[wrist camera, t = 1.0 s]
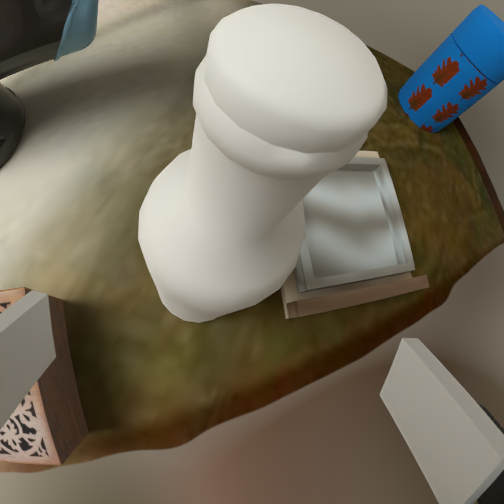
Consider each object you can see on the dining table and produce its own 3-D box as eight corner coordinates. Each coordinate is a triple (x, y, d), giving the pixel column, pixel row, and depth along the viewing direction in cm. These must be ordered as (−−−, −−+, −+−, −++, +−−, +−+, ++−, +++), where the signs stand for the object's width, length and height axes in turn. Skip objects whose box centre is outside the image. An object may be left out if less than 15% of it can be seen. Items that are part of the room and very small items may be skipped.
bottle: (158, 246, 33) (133, -47, 5) (231, 247, 35) (404, 4, 7) (158, 323, 31) (29, 269, 3) (235, 322, 33) (506, 262, 5)
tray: (255, 152, 39) (263, 135, 35) (373, 155, 43) (388, 141, 39) (285, 318, 35) (299, 317, 31) (409, 291, 39) (429, 287, 35)
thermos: (445, 142, 49) (538, 71, 26) (401, 119, 47) (495, 29, 24) (436, 101, 52) (513, 30, 28) (394, 78, 50) (470, -7, 27)
